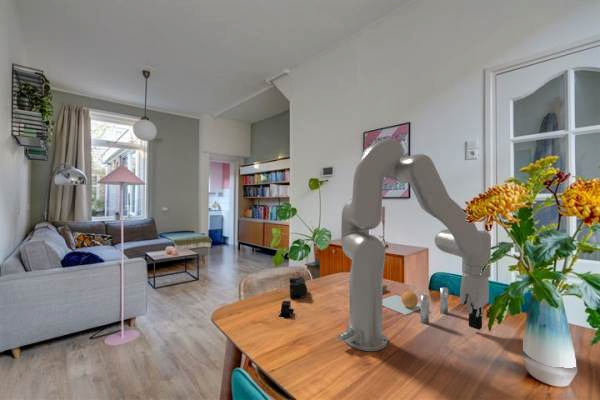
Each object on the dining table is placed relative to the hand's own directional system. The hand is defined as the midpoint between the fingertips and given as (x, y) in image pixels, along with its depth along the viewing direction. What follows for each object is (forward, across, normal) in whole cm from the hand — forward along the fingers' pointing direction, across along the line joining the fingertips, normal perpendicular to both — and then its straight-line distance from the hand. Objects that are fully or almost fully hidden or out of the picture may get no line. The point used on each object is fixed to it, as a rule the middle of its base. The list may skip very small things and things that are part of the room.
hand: (475, 327), depth 86 cm
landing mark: (+2, 0, -27) cm, 27 cm away
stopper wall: (+2, 0, -41) cm, 41 cm away
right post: (+2, -6, -13) cm, 15 cm away
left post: (+2, +7, -13) cm, 15 cm away
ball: (-2, 0, -23) cm, 23 cm away
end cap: (+2, +27, -59) cm, 65 cm away
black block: (+2, +41, -46) cm, 62 cm away
